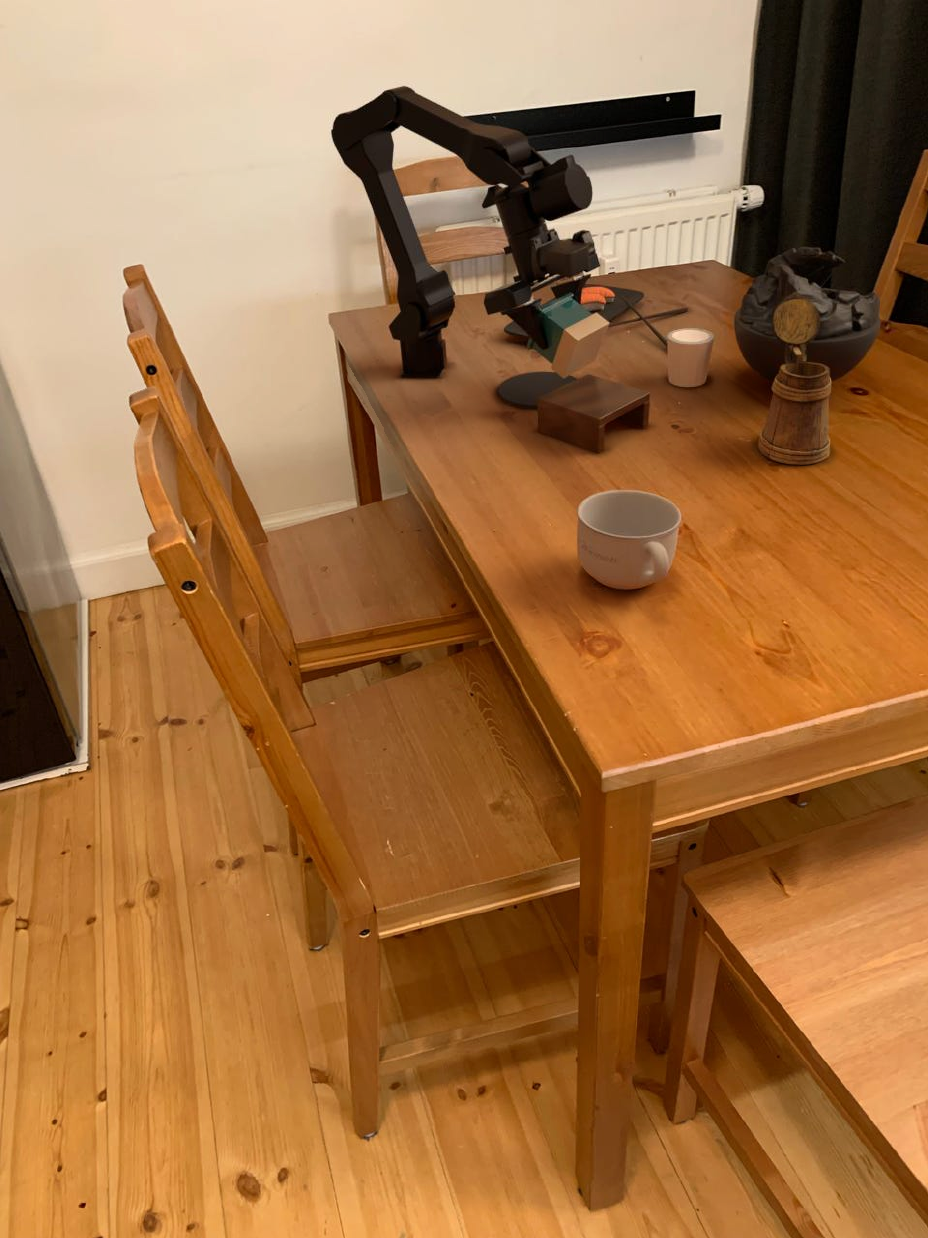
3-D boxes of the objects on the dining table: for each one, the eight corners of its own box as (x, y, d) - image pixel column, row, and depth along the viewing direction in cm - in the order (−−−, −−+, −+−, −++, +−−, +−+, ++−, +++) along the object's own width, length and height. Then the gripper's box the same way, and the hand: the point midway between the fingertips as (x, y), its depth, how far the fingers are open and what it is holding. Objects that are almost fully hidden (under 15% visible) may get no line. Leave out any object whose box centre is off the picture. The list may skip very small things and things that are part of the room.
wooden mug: (809, 419, 133) (830, 288, 123) (837, 463, 122) (863, 324, 112) (744, 422, 134) (760, 292, 123) (767, 467, 123) (786, 328, 112)
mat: (492, 408, 143) (492, 404, 142) (504, 374, 153) (504, 371, 153) (580, 409, 140) (580, 405, 140) (586, 375, 151) (586, 371, 150)
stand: (537, 431, 135) (537, 398, 132) (587, 406, 141) (588, 373, 138) (598, 453, 129) (599, 419, 126) (648, 425, 135) (650, 392, 132)
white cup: (710, 389, 143) (714, 343, 139) (663, 388, 145) (666, 343, 141) (709, 371, 149) (714, 327, 145) (665, 370, 150) (667, 326, 146)
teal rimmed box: (526, 347, 138) (538, 308, 133) (557, 330, 142) (571, 291, 136) (563, 378, 136) (577, 340, 131) (594, 361, 140) (609, 322, 134)
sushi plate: (581, 291, 184) (581, 271, 182) (729, 314, 169) (732, 292, 167) (496, 340, 165) (495, 318, 163) (655, 370, 150) (656, 347, 148)
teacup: (568, 552, 109) (569, 490, 104) (662, 543, 110) (666, 481, 105) (592, 624, 98) (594, 558, 93) (696, 613, 98) (703, 547, 94)
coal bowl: (827, 352, 152) (848, 228, 141) (894, 400, 136) (923, 265, 125) (707, 367, 150) (718, 243, 139) (761, 418, 134) (779, 283, 123)
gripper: (519, 237, 121) (557, 356, 127) (611, 196, 130) (643, 309, 136) (464, 255, 130) (502, 366, 135) (555, 216, 139) (587, 321, 145)
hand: (561, 340), depth 138 cm, fingers closed on teal rimmed box, 7 cm apart
